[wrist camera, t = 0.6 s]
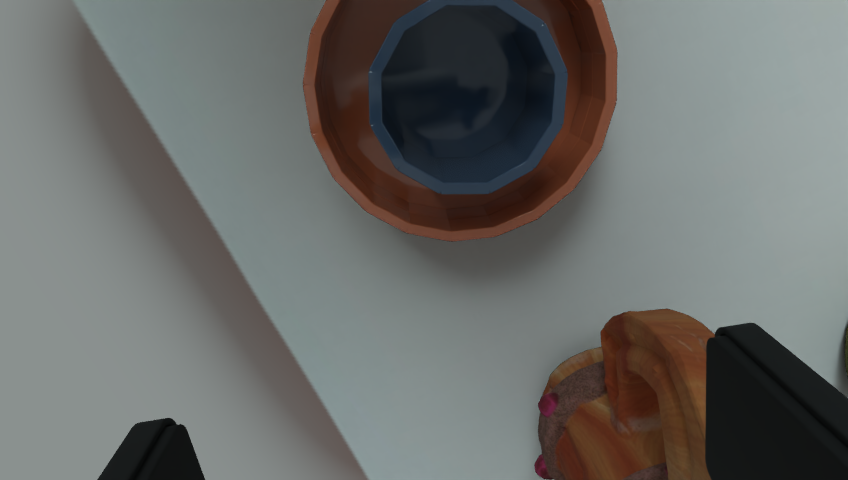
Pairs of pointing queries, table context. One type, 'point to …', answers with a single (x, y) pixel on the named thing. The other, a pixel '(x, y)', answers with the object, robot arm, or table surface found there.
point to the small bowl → (467, 94)
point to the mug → (629, 403)
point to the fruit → (846, 351)
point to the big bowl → (406, 198)
